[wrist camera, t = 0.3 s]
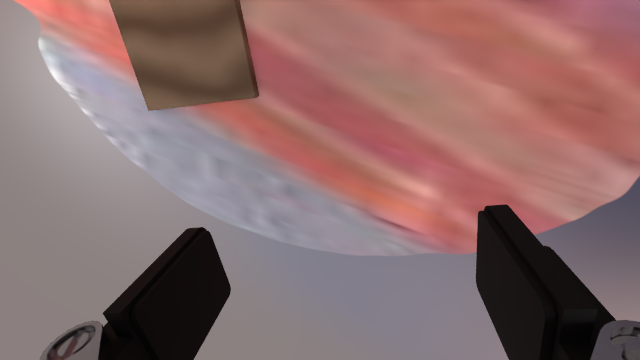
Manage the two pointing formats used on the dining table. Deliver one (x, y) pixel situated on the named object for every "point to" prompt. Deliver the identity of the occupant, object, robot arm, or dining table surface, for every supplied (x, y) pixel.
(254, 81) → the walnut board
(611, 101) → the dining table surface
